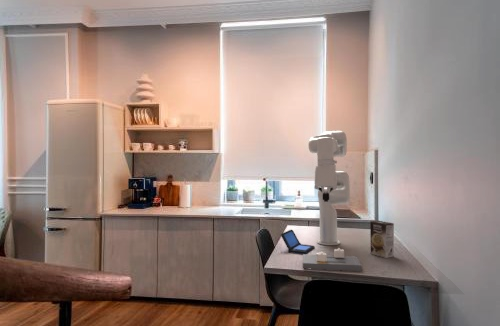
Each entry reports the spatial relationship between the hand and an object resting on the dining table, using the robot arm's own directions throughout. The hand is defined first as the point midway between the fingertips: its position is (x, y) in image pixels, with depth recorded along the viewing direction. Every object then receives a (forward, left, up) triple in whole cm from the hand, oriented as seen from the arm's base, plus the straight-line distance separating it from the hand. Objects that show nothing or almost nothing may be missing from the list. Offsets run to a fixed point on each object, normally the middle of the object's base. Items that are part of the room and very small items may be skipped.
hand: (325, 201), depth 159 cm
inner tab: (+8, +5, -24) cm, 26 cm away
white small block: (+15, -3, -24) cm, 29 cm away
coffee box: (-8, +27, -27) cm, 39 cm away
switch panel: (+12, +1, -27) cm, 29 cm away
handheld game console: (-13, -14, -27) cm, 33 cm away
